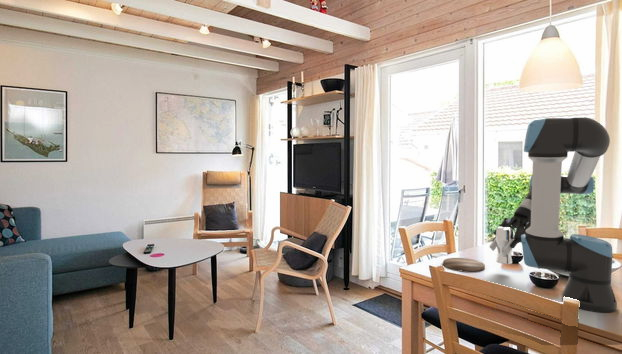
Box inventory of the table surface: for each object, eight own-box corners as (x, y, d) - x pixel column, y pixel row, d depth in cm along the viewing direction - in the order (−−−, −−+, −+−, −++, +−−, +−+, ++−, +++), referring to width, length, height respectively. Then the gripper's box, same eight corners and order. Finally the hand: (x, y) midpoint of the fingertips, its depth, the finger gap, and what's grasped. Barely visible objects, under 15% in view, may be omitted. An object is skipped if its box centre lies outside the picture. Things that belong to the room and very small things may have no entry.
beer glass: (515, 264, 156) (516, 230, 155) (497, 264, 157) (498, 229, 157) (510, 260, 163) (510, 227, 162) (493, 259, 164) (494, 226, 163)
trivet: (492, 271, 162) (492, 269, 162) (452, 272, 162) (452, 269, 162) (474, 260, 180) (474, 257, 180) (437, 260, 180) (437, 257, 180)
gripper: (551, 220, 155) (522, 262, 150) (512, 214, 174) (484, 250, 169) (543, 208, 153) (513, 250, 148) (503, 203, 171) (476, 240, 167)
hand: (498, 250), depth 158 cm, fingers closed on beer glass, 7 cm apart
